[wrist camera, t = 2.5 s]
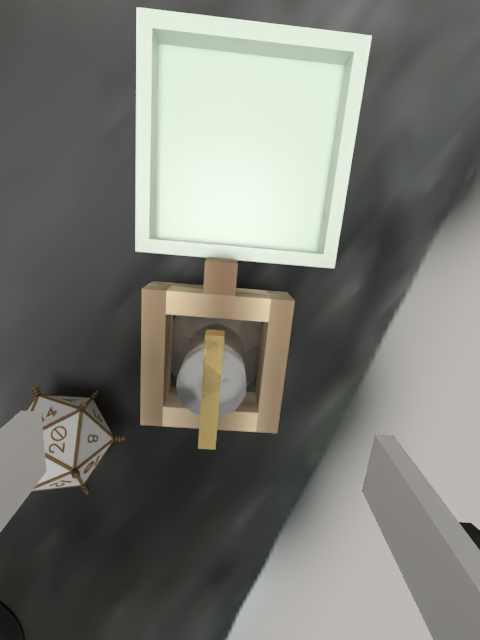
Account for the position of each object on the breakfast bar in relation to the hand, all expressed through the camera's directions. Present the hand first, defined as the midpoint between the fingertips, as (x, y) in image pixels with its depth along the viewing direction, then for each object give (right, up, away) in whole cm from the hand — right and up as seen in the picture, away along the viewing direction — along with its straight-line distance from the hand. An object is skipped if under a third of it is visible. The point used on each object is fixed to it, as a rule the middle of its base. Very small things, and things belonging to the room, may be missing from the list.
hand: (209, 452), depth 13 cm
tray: (+2, +18, +12) cm, 22 cm away
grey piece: (-1, +4, +16) cm, 17 cm away
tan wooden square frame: (-1, +3, +12) cm, 12 cm away
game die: (-13, -3, +18) cm, 23 cm away
